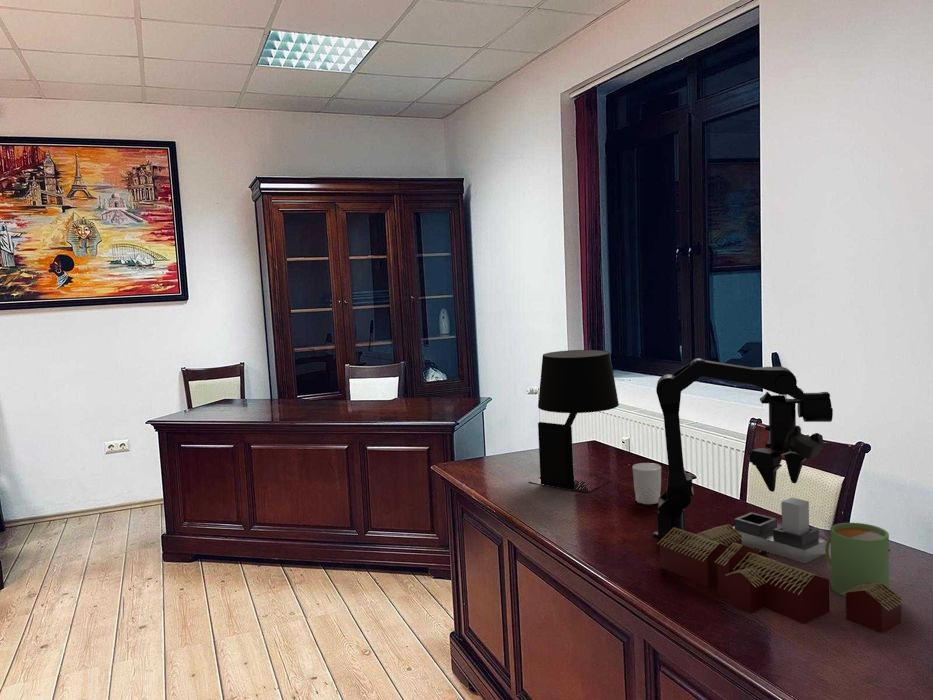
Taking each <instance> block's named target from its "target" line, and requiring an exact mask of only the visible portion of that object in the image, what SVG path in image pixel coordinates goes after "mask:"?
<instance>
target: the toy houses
mask: <svg viewBox="0 0 933 700" xmlns="http://www.w3.org/2000/svg"><path fill="white" fill-rule="evenodd" d="M733 527H734V526H732V525H731V523H729V524H724V525H719V526H714V527H713V528H710V529H709V528H708V529H707V530H703V531H700V532H698V533H697V532H696V533H693V532H690V531H687V530H685V531H684V530H681V529H678V528H675V527H672V528H671V529H670V530H669V531H668V532H667V533H666V534H665V535H664V536H663V537H662V538H659V541H658V542H657V543H656V544H657V545H659V559H660V568H661V569H663V570H665V569H666V571H668V572H670V573H672V574H675V575H678V576H679V577H682V578H684V579H686V580H689V581H692V582H694V583H697V584H699V585H701V586H703V587H706V588H711V587H714V586H717V594H718V595H719V596H721V597H724V598H726V599H728V600H729V606H731V607H732V606H733V607H734V608H737V609H739V610H741V611H744V612H746V613H748V614H752V613H755V612H757V611H760V610H762V609H767V610H770V611H772V612H773V613H776V614H778V615H780V616H782V617H786V618H788V619H790V620H793V621H796V622H798V623H800V624H803V625H806V624H808V623H809V622H812V621H814V620H816V619H818V618H819V617H822V616H824V615H827V614H829V613H830V612H831V611H830V609H831V607H830V606H831V603H830V582H831V578H827V577H823V576H820V575H819V574H818V575H817V574H815V573H813V572H809V571H806V570H804V569H801V568H798V567H794V566H791V565H790V564H786V563H783V562H780V561H778V560H776V559H775V560H774V559H772V558H769V557H766V556H764V555H760V553H762V550H758V549H755V548H752V547H748V546H745V545H742V537H743V536H742V535H741V534H740V533H739V532H738V531H737V530H735V529H734V528H733ZM743 538H744V537H743ZM845 593H846V597H845V620H846V621H849V622H853V623H855V624H857V625H860V626H862V627H865V628H867V629H870V630H873V631H875V632H878V633H880V634H883V633H885V632H887V631H889V630H891V629H893V628H894V627H897V626H899V625H900V624H902V604H904V602H905V603H907V600H905V599H904V598H903V597H902V596H900V595H898V593H896V592H895V591H894V590H892V589H891V588H890V586H889V587H887V586H886V585H885V584H883V583H882V582H879V583H868V584H863V585H858V586H855V587H853V589H850V590H847V591H844V592H843V593H842V594H845Z"/></svg>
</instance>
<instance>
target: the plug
mask: <svg viewBox="0 0 933 700" xmlns="http://www.w3.org/2000/svg"><path fill="white" fill-rule="evenodd" d="M809 502H810V501H808V500H804V499H800V498H796V497H790V498H787V499H785V500H783V501H781V502H780V503H781V506H780V507H781V509H780V510H781V518H782V520H781V521H782V522H781V523H782V524H781V526H782V531H786V532H790V533H793V534H797V535H802V534H805V533H807V532H809V527H810V503H809Z"/></svg>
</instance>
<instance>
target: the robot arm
mask: <svg viewBox="0 0 933 700" xmlns="http://www.w3.org/2000/svg"><path fill="white" fill-rule="evenodd" d="M701 377H703V378H709V379H716V380H723V381H728V382H735V383H740V384H741V383H742V384H747V385H753V386H755V387H757V388H760V389H763V390H766V392H765V393H764V394H763V396H761V397H760V398H759V402H760V403H761V404H765V405H766V404H768V424H767V425H765V427H764V430H765V431H768V432H769V433H768V436H769V437H768V438H769V439H768V440H769V441H768V442H765V448H763V447H758V448H755V449H752V450H750V452H748V462H749V463H751V464H752V466H755V468H756V469H757V471H758V472H759V474H760V476H761V477H762V479H763V482H764V483H765V485H766V486H767V489H768V491H769V492H772V493H774V492H776V491H775V490H776V482H777V471H778V470H779V469H780V468H781V467H782V466H783V464H781V462H782V458H783V457H784V460H785V463H786V467H787V473H788V475H789V476H788V477H789V478H790V482H791V483H792V484H797V483H798V480H799V477H800V473H801V471H802V468H803V466H804V463H805V461H806V460H811V459H813V458H817V457H819V453H820V451H821V450H823V449H824V448H825V445H824V439H823V435H822V434H820V433H818V432H816V433H812V434H811V435H810V434H803V433H802V428H801V426H800V425H797V423H796V422H797V420H796V417H797V416H798V418H802V420H803V422H804V423H806V422H807V423H814V422H815V423H832V421H833V416H834V413H833V412H834V411H833V407H832V402H831V393H829V391H820V392H804V390H803V389H802V388H801V387H799V386H798V385H797V383H798V381H797V378H796V375H794V373H793V372H792V371H791V370H790V369H789V368H788V367H784V366H763V367H762V366H761V367H752V366H751V367H750V366H744V365H740V364H739V365H738V364H737V365H736V364H732V363H726V362H725V363H724V362H720V361H719V362H718V361H714V360H713V361H712V360H706V359H703V358H701V357H699V358H694V359H693V360H691V362H690V363H688V364H686V365H684V366H683V367H681V368H679V369H677V370H676V371H674V372H673V373H672V374H664V375H662V376H660V378H659V379H658V380H657V384H656V395H657V398H658V402H659V403H658V404H659V406H660V410H661V411H662V416H663V424H664V435H665V445H666V455H667V456H666V458H667V468H668V471H667V472H668V473H667V481H666V482H667V484H666V491H664V492H663V493H662V494H660V497H659V500H658V503H657V512H656V513H657V516H656V517H657V518H656V521H657V530H656V531H654V532H653V533H652V535H653V536H655V537H657V538H659V539H661V538H662V537H663V536H664V535H665V534H666V533H667V532H668V531H669V530H670V529H671V528H672V527H675V528H678V529H681V530H684V531H686V520H685V519H686V516H685V509H686V508H687V507H688V506H690V504H691V503H692V498H694V497H695V494H694V486H693V474H692V473H687V472H686V469H685V466H684V455H683V444H682V434H681V421H680V420H681V419H680V406H681V395H682V391H684V390H685V389H687V388H688V387H689V386H691V385H692V384H693V383H694V382H697V380H698V379H700V378H701ZM770 392H772V393H774V394H775V395H774V394H772V395H771V394H770ZM776 394H777V395H776ZM786 396H790V398H786ZM791 397H792V398H791ZM796 404H797V410H796ZM796 411H797V412H796ZM796 414H797V415H796Z"/></svg>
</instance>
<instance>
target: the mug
mask: <svg viewBox="0 0 933 700" xmlns="http://www.w3.org/2000/svg"><path fill="white" fill-rule="evenodd" d="M889 546H890V534H889V532H888V531H887V530H886V529H884V528H882V527H879V526H876V525H873V524H869V523H868V524H867V523H863V522H841V523H836V524H833V525H832V526H831V527H830V535H829V536H828V538H827V540H826V541H825V557H826V560H827V563H828V565H829V566H830V580H831V581H830V588H831V589H832V590H834V591H835V593H836V594H837V593H838V594H837V595H839V594H840V595H839V596H841V595H842V597H844V598H846V593H845V594H842V593H843V592H844V591H847V590H850V589H853V587H855V586H858V585H863V584H868V583H879V582H882V583H883V584H885V585H886V586H887V587H889V588H890V583H889V582H890V580H889V579H890V570H889V569H890V567H889V566H890V553H889V552H890V551H891V550H890V547H889ZM829 549H830V552H829ZM834 591H833V592H834Z"/></svg>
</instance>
